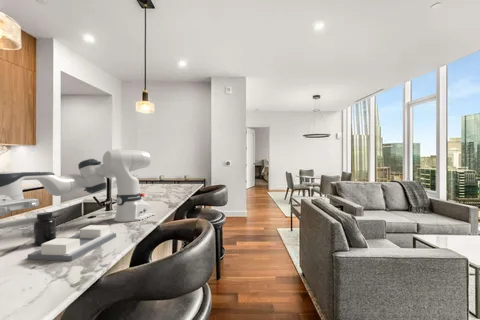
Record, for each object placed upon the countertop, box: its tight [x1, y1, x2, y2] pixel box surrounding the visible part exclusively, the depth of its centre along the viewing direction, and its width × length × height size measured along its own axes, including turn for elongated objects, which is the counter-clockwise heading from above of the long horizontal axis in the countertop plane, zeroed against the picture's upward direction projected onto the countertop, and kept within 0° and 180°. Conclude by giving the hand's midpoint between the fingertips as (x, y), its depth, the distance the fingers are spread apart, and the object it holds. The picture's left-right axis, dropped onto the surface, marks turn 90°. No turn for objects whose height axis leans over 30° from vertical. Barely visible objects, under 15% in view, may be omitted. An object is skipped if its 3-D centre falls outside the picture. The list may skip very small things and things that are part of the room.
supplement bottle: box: [33, 211, 57, 247], centre depth 95 cm, size 7×7×12 cm
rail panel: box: [27, 224, 117, 262], centre depth 91 cm, size 24×16×5 cm, turn 175°
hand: (21, 207), depth 97 cm, fingers open, 8 cm apart
